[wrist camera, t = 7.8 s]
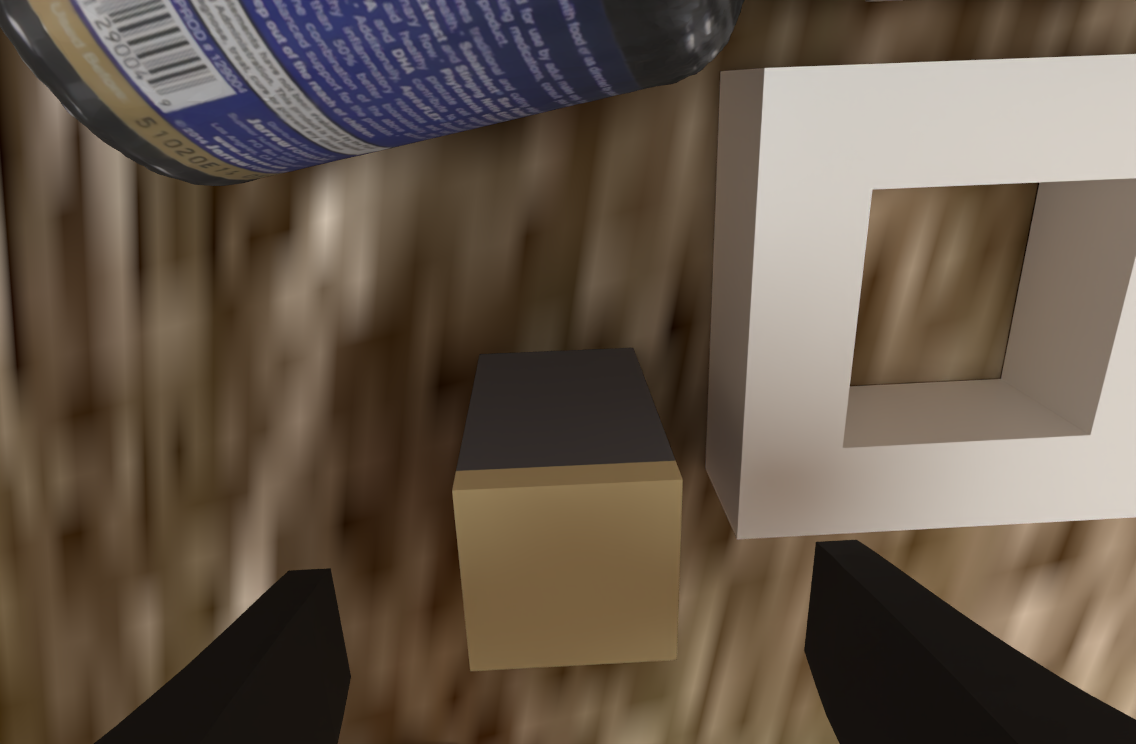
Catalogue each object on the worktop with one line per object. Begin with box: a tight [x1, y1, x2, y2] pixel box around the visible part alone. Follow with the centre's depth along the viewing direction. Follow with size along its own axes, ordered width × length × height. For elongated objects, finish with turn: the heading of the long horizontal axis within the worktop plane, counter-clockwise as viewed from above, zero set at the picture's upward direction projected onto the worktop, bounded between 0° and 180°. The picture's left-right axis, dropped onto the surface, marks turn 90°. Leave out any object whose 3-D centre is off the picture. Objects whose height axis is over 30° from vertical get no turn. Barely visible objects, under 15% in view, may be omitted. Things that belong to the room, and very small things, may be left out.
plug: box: [452, 348, 683, 671], centre depth 15 cm, size 4×4×6 cm
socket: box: [705, 54, 1136, 539], centre depth 15 cm, size 9×9×3 cm
